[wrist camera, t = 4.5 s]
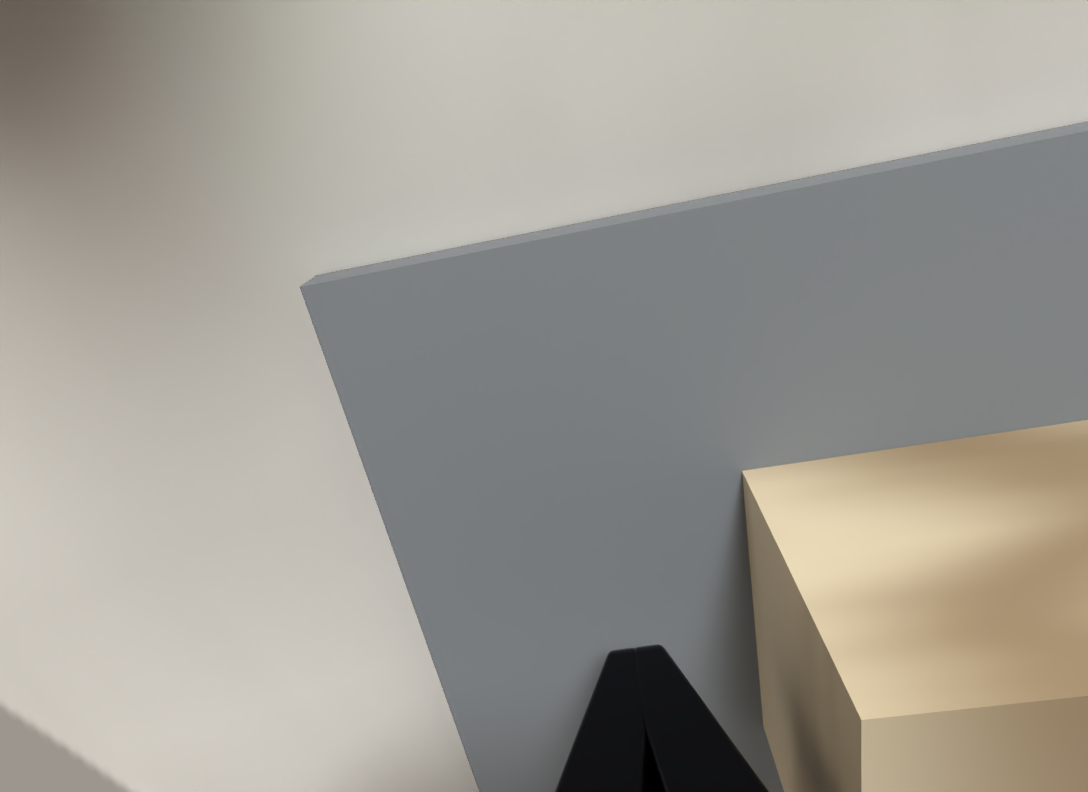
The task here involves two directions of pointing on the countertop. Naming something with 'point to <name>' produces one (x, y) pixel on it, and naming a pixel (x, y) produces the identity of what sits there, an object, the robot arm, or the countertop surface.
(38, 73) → the countertop surface
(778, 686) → the beech block
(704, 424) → the runner mat
